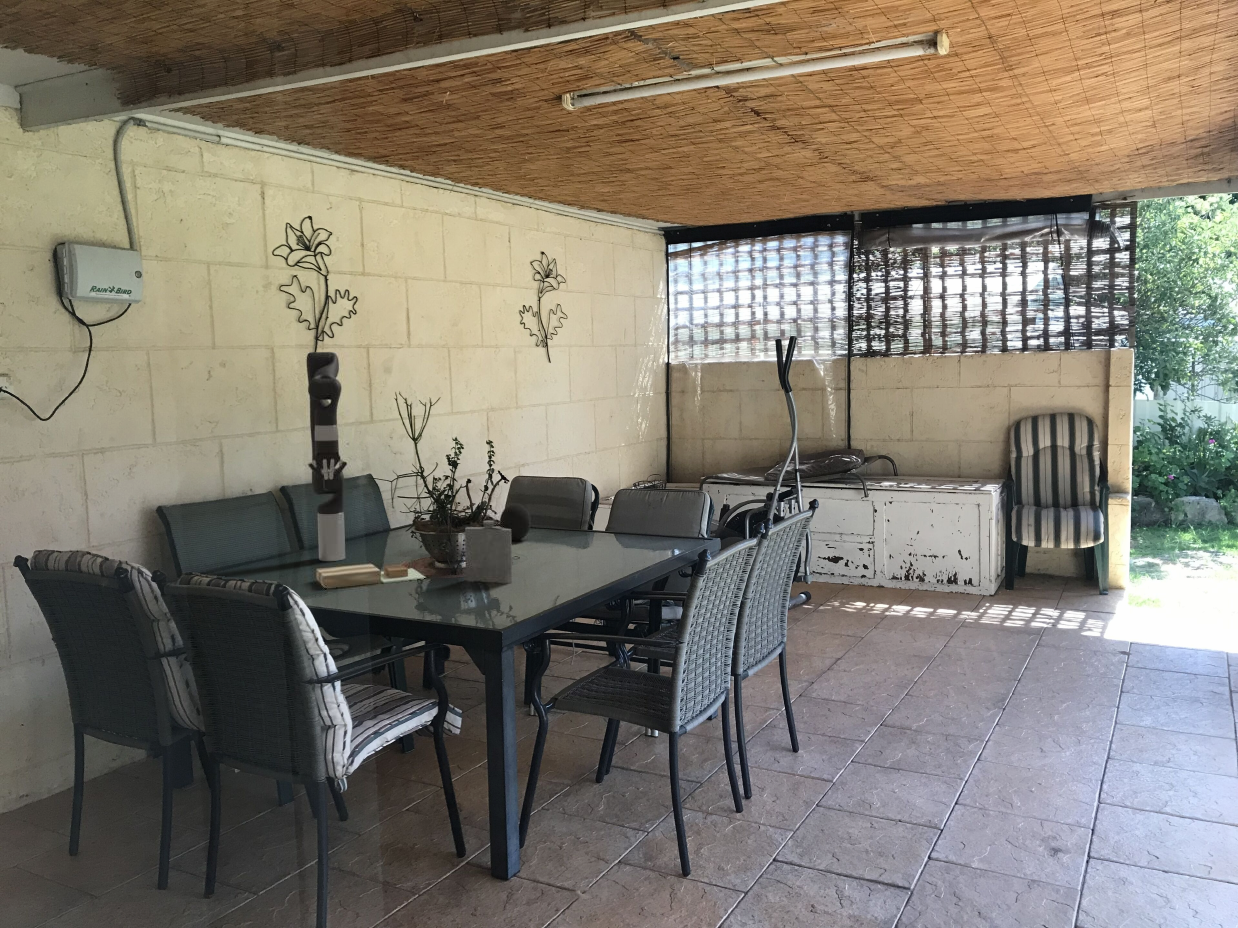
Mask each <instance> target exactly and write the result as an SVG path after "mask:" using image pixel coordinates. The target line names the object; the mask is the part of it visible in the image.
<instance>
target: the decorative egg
mask: <svg viewBox="0 0 1238 928" xmlns="http://www.w3.org/2000/svg"><path fill="white" fill-rule="evenodd" d="M531 525H532V523H531V515H530V512H529V510H528V509H527V508H526V507H525V506H524V505H522V504H520V503H511V504H509V505H508V506H506V507H504V509H503V510H502V511H501V514H500V518H499V527H501V528H505V529H511V542H512V541H514V542H517V541H520V540H523V539H524V538H525V537H526V536H527V535H528V533H529V531H530V528H531Z"/></svg>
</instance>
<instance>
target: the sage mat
mask: <svg viewBox="0 0 1238 928" xmlns="http://www.w3.org/2000/svg"><path fill="white" fill-rule="evenodd" d="M407 569H408V576H407V577H397V578H389V577H388V576H386V575H385V574H384V570H382V571H381V583H383V584H392V583H400V582H402V581H403V582H408V581H409V580H412V581H417V579H421V580H425V579H424V578H426V577H427V576H425V575H423V574H422V573H420V572H419V571H417V570H416V569H414V568H411V567H410V568H407ZM426 579H427V578H426ZM409 582H410V581H409Z"/></svg>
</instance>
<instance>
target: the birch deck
mask: <svg viewBox="0 0 1238 928" xmlns="http://www.w3.org/2000/svg"><path fill="white" fill-rule="evenodd" d="M315 572H316V573H315V574H316V581H317V580H318V581H319V582H320V583H321V585H322V586H323V587H324V588H327V589H335V588H336V587H337V588H345V587H354V586H361V585H362V586H363V585H364V584H365V585H373V584H381V583H382V582H381V572H382V571H381V570H380V569H379V568H378V567H377V566H375V565H374V564H372V563H364V564H353V565H343V566H342V565H340V566H334V567H333V566H332V567H324V568H323V567H321V568H316V571H315ZM321 585H320V586H321ZM322 586H321V587H322ZM323 587H322V588H323ZM324 588H323V589H324Z"/></svg>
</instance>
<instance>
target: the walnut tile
mask: <svg viewBox="0 0 1238 928" xmlns="http://www.w3.org/2000/svg"><path fill="white" fill-rule="evenodd" d="M408 569H409V568H407V567H406V566H404V565H403V564H395V565H385V566H383V571H384V574H385V575H386V576H388V577H389V578H397V577H407V576H408Z"/></svg>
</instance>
